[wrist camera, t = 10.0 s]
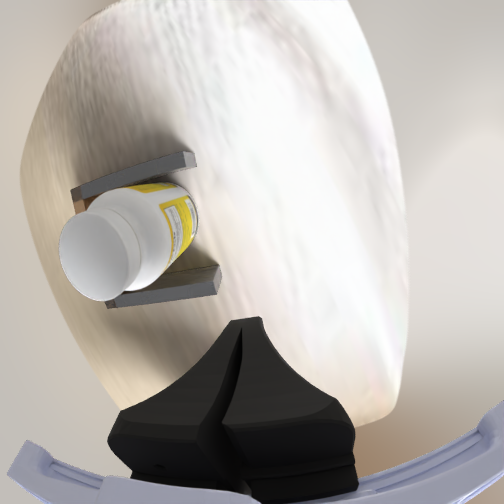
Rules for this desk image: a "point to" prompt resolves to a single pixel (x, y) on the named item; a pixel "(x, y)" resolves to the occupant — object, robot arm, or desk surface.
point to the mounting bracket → (166, 284)
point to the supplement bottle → (127, 238)
